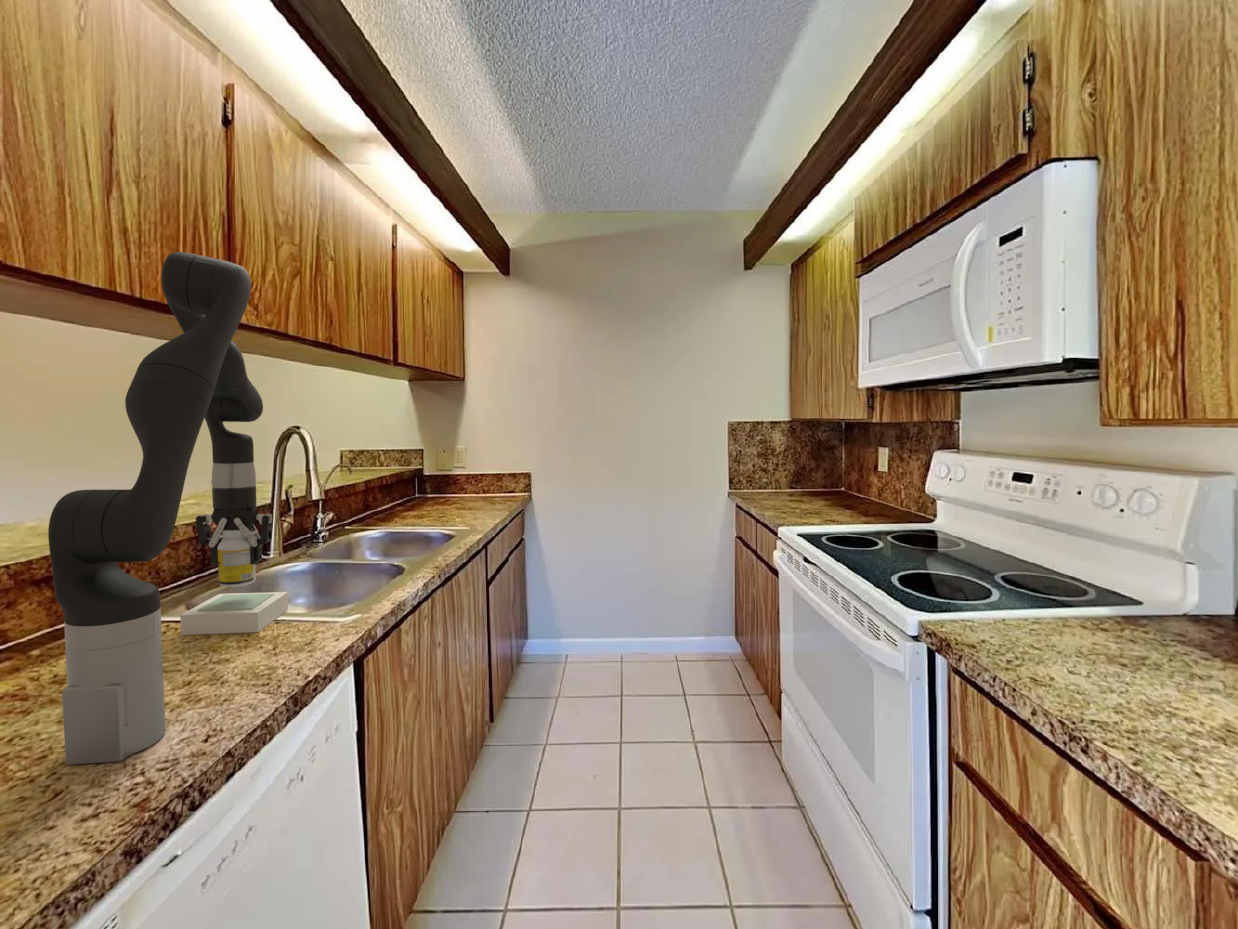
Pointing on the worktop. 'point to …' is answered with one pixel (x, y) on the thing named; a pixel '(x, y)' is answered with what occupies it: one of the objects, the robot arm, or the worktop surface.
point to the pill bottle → (235, 560)
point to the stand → (234, 613)
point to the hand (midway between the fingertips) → (236, 563)
